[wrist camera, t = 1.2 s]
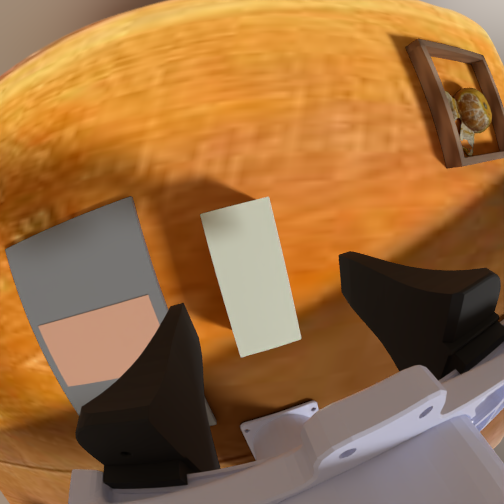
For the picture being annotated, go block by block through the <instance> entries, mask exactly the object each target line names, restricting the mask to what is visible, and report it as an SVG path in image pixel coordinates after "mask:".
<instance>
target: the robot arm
mask: <svg viewBox="0 0 504 504" xmlns="http://www.w3.org/2000/svg"><path fill="white" fill-rule="evenodd" d="M339 265H340V277H341V290H342V293H343V295H344V296H345V298H346V300H347V301H348V303H349V304H350V306H351V307H352V308H353V310H354V311H355V312H356V313H357V314H358V315H359V317H360V318H361V319H362V320H363V321H364V322H365V323H366V325H367V326H368V327H369V328H370V329H371V330H372V331H373V333H374V334H375V335H376V336H377V337H378V339H379V340H380V341H381V342H382V344H383V345H384V347H385V348H386V350H387V351H388V353H389V354H390V356H391V358H392V359H393V361H394V363H395V364H396V366H397V368H398V369H399V371H400V372H398V373H396V374H394V375H392V376H390V377H389V378H387V379H385V380H383V381H381V382H379V383H376V384H374V385H372V386H370V387H368V388H366V389H364V390H362V391H359V392H357V393H355V394H353V395H350V396H348V397H346V398H343V399H341V400H339V401H336V402H334V403H332V404H330V405H328V406H326V407H324V408H323V409H321V410H318V405H317V403H316V401H314V400H312V401H309V402H306V403H304V404H301V405H298V406H295V407H292V408H289V409H287V410H284V411H281V412H278V413H274V414H271V415H268V416H265V417H262V418H258V419H255V420H251V421H248V422H244V423H242V424H241V425H240V428H241V431H242V433H243V435H244V437H245V439H246V441H247V443H248V445H249V447H250V450H251V452H252V454H253V456H254V458H255V460H256V461H253V462H249V463H245V464H241V465H237V466H232V467H227V468H222V469H221V468H220V465H219V462H218V458H217V454H216V451H215V447H214V443H213V439H212V435H211V430H210V426H209V421H208V416H207V411H206V406H205V398H204V382H203V363H202V353H201V347H200V342H199V337H198V335H197V333H196V330H195V328H194V326H193V324H192V321H191V319H190V317H189V314H188V312H187V310H186V307H185V305H184V303H181V304H178V305H174V306H171V307H170V308H169V310H168V312H167V314H166V315H165V317H164V319H163V321H162V322H161V324H160V326H159V328H158V329H157V331H156V333H155V334H154V336H153V337H152V339H151V340H150V342H149V343H148V345H147V347H146V348H145V349H144V351H143V352H142V354H141V355H140V356H139V357H138V359H137V360H136V361H135V362H134V363H133V365H132V366H131V367H130V368H129V369H128V370H127V371H126V372H125V373H124V374H123V375H122V376H121V377H120V378H119V379H118V380H117V381H116V382H115V383H113V384H112V385H111V386H110V387H109V388H107V389H106V390H105V391H104V392H102V393H101V394H100V395H98V396H97V397H95V398H94V399H92V400H91V401H89V402H88V403H86V404H85V405H83V406H82V407H81V411H80V415H79V419H78V424H77V429H76V439H77V441H78V443H79V444H80V445H81V446H82V447H83V448H84V449H85V450H86V451H87V452H88V453H89V454H91V455H92V456H93V457H94V458H96V459H97V460H98V461H100V462H101V463H102V464H103V465H104V473H103V472H101V471H98V470H83V469H73V470H72V475H71V483H70V491H69V501H68V504H504V463H503V462H502V461H501V459H500V458H499V457H498V455H497V454H496V453H495V451H494V450H493V449H492V447H491V446H490V445H489V443H488V442H487V441H486V440H485V438H484V437H483V436H482V434H481V433H480V431H481V430H482V429H483V428H484V427H485V426H486V425H487V424H488V423H489V422H490V421H491V420H492V419H493V418H494V417H495V416H496V415H497V414H498V413H499V412H500V411H501V410H502V409H503V408H504V322H503V324H501V323H499V322H498V320H499V315H497V314H496V313H495V312H494V311H495V308H496V304H497V301H498V297H499V293H500V278H499V276H498V275H497V274H495V273H494V272H492V271H490V270H489V269H487V268H480V269H472V270H457V271H443V270H429V269H421V268H415V267H409V266H404V265H400V264H396V263H392V262H388V261H384V260H381V259H377V258H374V257H371V256H367V255H364V254H360V253H356V252H351V251H349V252H346V253H343V254H340V255H339ZM312 408H313V409H312ZM246 429H249V430H246Z"/></svg>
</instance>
